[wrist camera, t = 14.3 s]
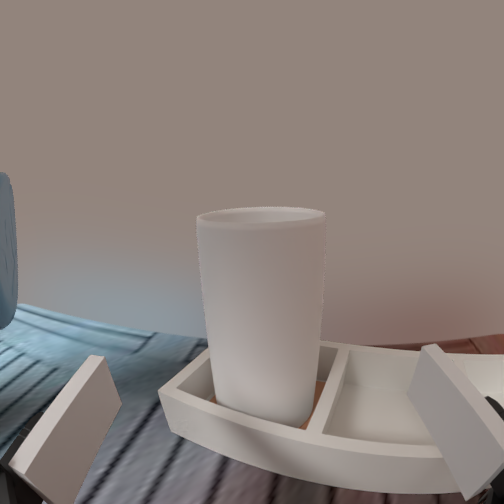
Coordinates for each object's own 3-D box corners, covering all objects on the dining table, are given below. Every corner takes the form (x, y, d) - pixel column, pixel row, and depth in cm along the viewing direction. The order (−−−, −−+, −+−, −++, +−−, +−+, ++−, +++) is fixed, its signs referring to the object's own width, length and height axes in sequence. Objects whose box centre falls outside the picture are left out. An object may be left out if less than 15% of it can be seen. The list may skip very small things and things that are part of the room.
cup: (200, 396, 23) (176, 215, 19) (272, 364, 28) (269, 204, 24) (255, 454, 17) (243, 229, 13) (332, 404, 21) (352, 213, 17)
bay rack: (170, 431, 20) (157, 390, 19) (238, 360, 30) (235, 322, 29) (548, 473, 5) (581, 432, 4) (523, 390, 16) (541, 351, 15)
